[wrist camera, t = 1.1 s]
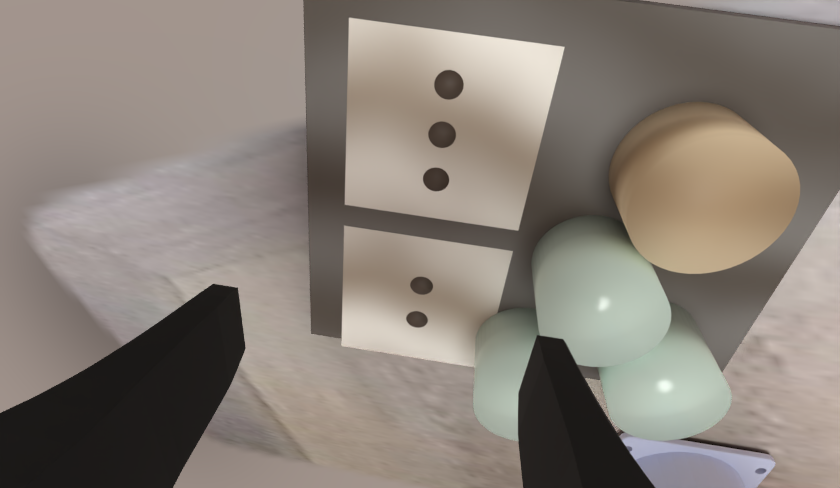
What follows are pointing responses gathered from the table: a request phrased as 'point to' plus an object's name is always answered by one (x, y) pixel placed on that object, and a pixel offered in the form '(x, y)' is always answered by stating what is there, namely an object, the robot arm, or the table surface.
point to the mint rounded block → (502, 368)
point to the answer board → (528, 151)
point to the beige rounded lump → (701, 188)
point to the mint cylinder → (598, 292)
